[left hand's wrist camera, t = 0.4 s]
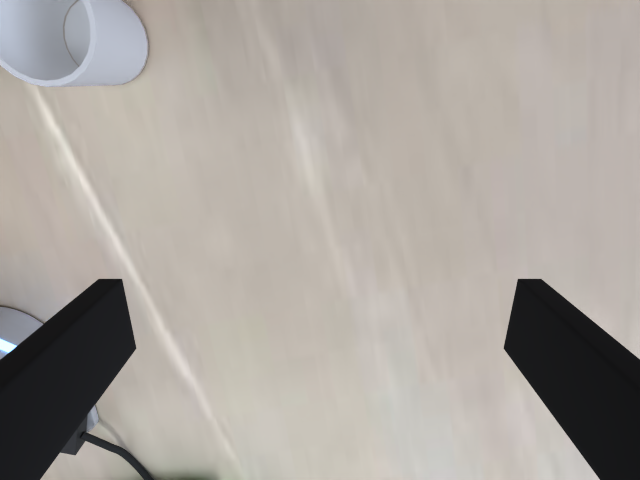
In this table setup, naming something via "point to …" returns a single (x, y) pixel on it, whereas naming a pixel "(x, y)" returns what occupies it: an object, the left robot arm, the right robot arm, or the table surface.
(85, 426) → the right robot arm
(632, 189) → the table surface
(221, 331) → the table surface
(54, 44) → the mug
